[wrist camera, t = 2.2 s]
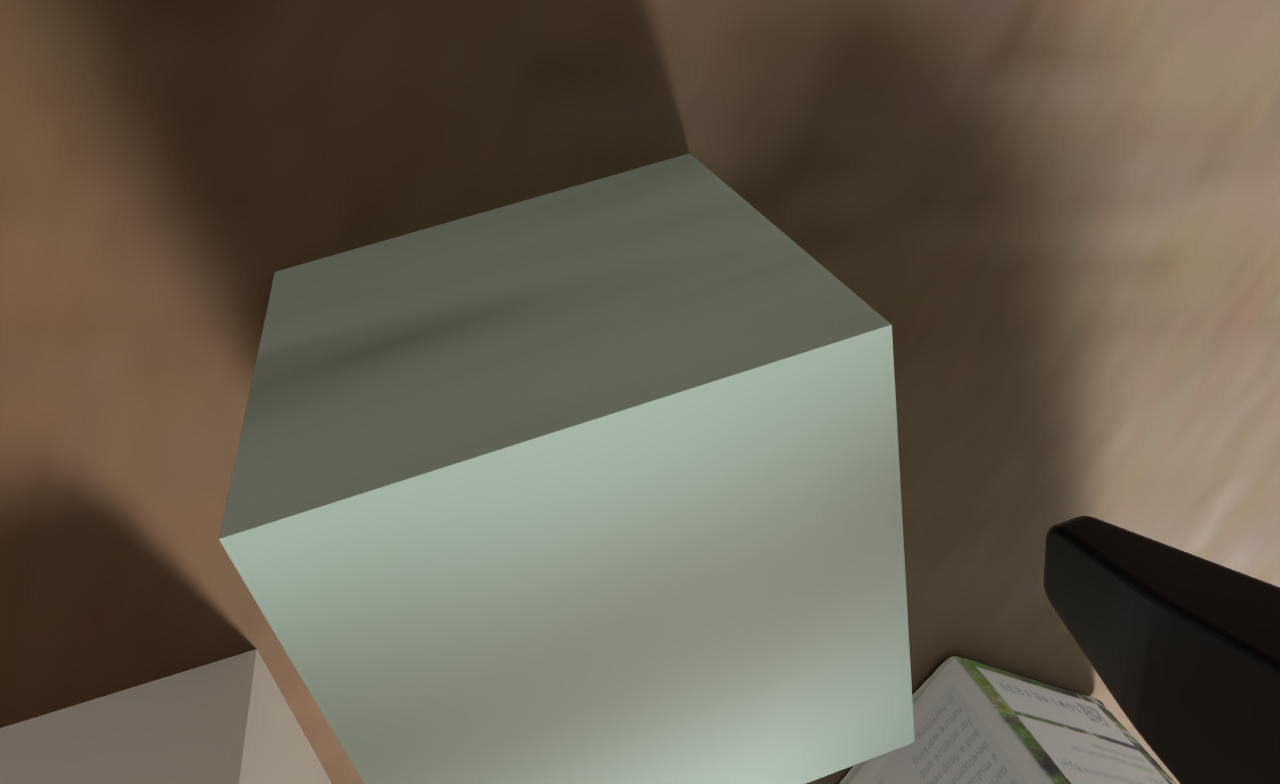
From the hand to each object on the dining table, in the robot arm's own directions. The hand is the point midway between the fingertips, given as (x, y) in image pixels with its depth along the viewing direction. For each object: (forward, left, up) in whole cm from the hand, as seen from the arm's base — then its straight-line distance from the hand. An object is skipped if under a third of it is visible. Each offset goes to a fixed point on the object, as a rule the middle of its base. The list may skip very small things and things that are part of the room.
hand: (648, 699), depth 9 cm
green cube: (0, 0, -6) cm, 6 cm away
